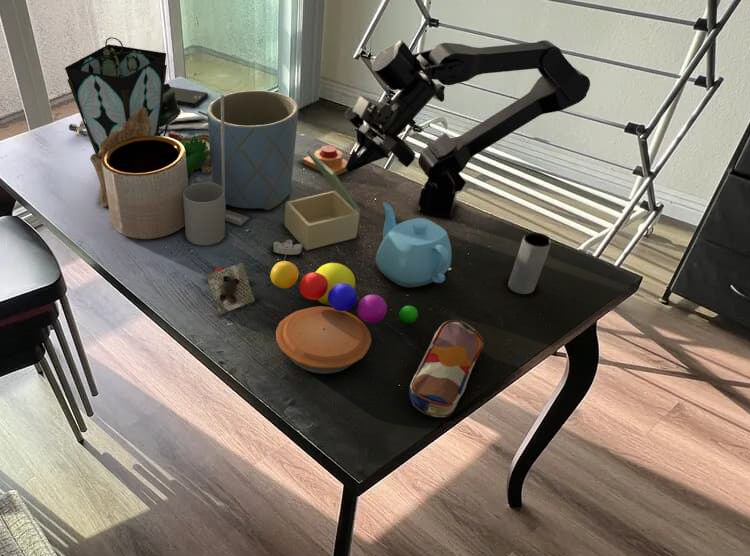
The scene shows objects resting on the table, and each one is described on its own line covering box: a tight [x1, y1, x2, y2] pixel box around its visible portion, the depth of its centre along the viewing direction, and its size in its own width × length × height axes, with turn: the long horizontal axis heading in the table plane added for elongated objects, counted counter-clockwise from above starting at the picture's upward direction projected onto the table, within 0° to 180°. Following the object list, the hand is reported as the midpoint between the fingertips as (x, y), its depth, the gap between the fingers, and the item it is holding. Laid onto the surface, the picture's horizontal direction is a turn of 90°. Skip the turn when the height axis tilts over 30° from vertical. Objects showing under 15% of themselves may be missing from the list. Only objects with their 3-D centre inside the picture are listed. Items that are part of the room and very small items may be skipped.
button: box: [320, 144, 338, 158], centre depth 161 cm, size 4×4×2 cm
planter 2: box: [206, 89, 299, 211], centre depth 149 cm, size 19×19×20 cm
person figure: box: [68, 119, 88, 136], centre depth 184 cm, size 12×15×3 cm
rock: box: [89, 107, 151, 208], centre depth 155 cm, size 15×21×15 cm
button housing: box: [302, 148, 349, 177], centre depth 162 cm, size 10×7×3 cm
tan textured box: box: [206, 262, 256, 315], centre depth 127 cm, size 8×8×6 cm
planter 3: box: [507, 232, 553, 295], centre depth 121 cm, size 4×4×10 cm
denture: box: [167, 130, 184, 140], centre depth 173 cm, size 6×4×8 cm
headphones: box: [159, 83, 182, 137], centre depth 173 cm, size 13×13×20 cm
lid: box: [306, 149, 361, 214], centre depth 135 cm, size 12×10×1 cm
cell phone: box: [170, 86, 209, 107], centre depth 199 cm, size 9×18×1 cm, turn 62°
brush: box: [220, 93, 250, 226], centre depth 140 cm, size 4×28×9 cm
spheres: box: [270, 260, 419, 324], centre depth 118 cm, size 25×8×17 cm
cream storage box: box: [284, 190, 360, 251], centre depth 140 cm, size 11×10×6 cm
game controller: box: [272, 239, 303, 261], centre depth 134 cm, size 6×12×3 cm, turn 2°
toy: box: [180, 135, 209, 184], centre depth 150 cm, size 17×9×15 cm, turn 32°
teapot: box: [375, 201, 452, 288], centre depth 127 cm, size 13×11×18 cm
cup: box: [183, 181, 226, 246], centre depth 141 cm, size 8×8×10 cm
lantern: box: [64, 36, 168, 154], centre depth 160 cm, size 17×17×30 cm
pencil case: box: [409, 319, 485, 418], centre depth 106 cm, size 11×20×5 cm, turn 163°
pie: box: [275, 305, 372, 375], centre depth 113 cm, size 16×16×5 cm
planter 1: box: [102, 135, 190, 240], centre depth 144 cm, size 18×18×16 cm
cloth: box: [159, 108, 208, 130], centre depth 187 cm, size 26×14×2 cm, turn 38°
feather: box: [169, 127, 191, 135], centre depth 169 cm, size 2×28×2 cm
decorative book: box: [177, 132, 211, 174], centre depth 165 cm, size 13×18×5 cm
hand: (347, 170), depth 134 cm, fingers closed
